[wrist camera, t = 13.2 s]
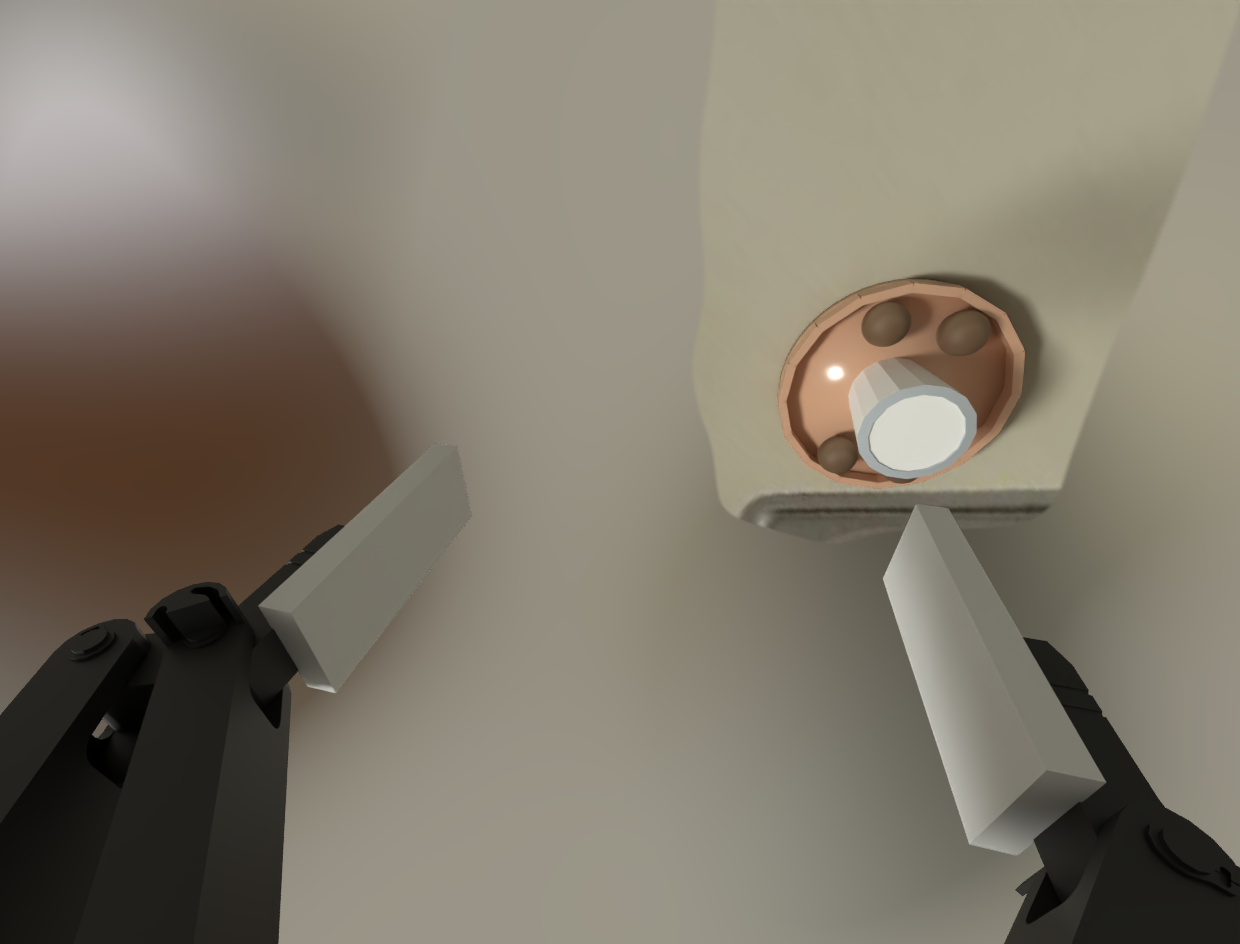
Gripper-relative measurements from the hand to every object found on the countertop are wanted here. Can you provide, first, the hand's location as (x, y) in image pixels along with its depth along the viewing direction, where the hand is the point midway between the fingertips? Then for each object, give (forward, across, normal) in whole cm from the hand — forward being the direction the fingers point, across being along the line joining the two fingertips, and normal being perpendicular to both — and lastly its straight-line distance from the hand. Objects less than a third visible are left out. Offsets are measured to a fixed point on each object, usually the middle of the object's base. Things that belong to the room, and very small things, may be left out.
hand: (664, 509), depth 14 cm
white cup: (+26, +14, -6) cm, 31 cm away
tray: (+27, +14, -6) cm, 31 cm away
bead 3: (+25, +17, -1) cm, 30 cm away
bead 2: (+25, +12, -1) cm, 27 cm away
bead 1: (+25, +11, -11) cm, 29 cm away
